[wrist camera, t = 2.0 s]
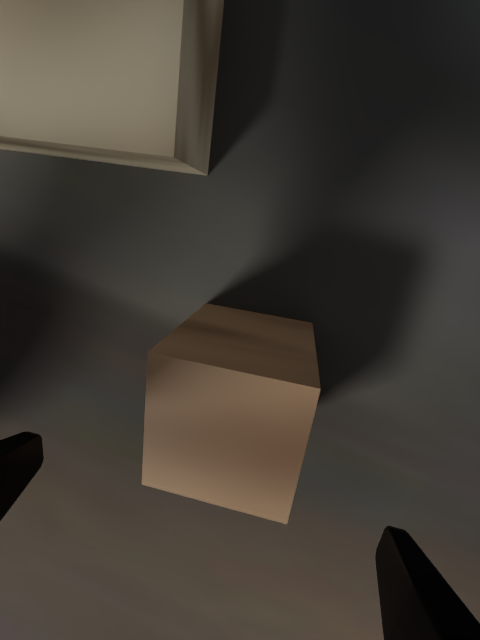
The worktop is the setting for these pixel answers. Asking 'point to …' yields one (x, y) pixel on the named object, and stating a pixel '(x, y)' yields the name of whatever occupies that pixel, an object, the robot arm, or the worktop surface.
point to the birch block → (111, 80)
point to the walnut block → (231, 409)
